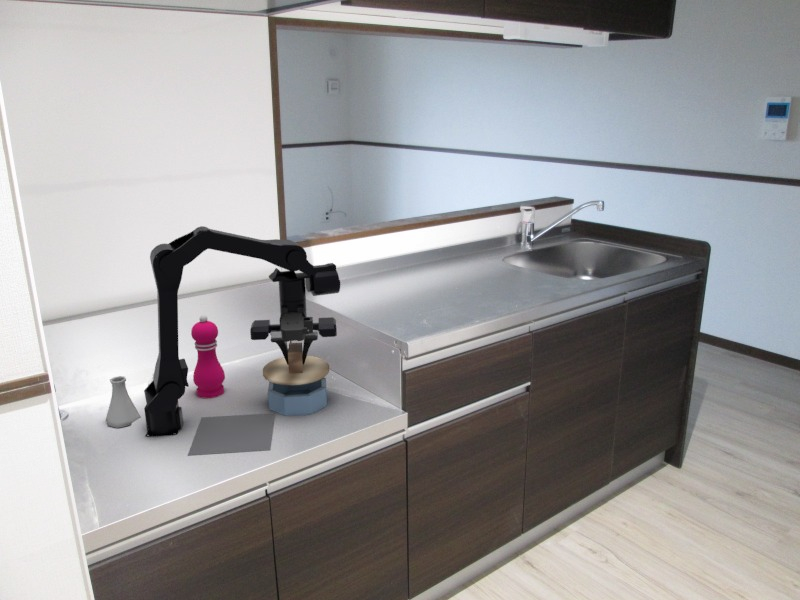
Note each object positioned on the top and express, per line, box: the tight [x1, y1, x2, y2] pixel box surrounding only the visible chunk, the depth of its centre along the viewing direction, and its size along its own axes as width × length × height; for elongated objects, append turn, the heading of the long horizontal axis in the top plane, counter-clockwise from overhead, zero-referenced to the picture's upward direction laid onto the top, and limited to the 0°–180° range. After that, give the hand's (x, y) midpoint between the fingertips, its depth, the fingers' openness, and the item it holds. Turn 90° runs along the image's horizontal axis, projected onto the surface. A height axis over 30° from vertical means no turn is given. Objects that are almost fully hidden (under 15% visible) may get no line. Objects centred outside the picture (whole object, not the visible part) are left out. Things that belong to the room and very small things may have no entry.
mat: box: [187, 412, 276, 457], centre depth 134 cm, size 16×16×1 cm
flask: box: [105, 375, 142, 429], centre depth 139 cm, size 7×7×10 cm
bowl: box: [267, 377, 328, 417], centre depth 147 cm, size 13×13×5 cm
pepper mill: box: [190, 314, 226, 399], centre depth 150 cm, size 7×7×20 cm
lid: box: [262, 341, 330, 385], centre depth 144 cm, size 15×15×6 cm
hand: (295, 363), depth 145 cm, fingers closed on lid, 3 cm apart
